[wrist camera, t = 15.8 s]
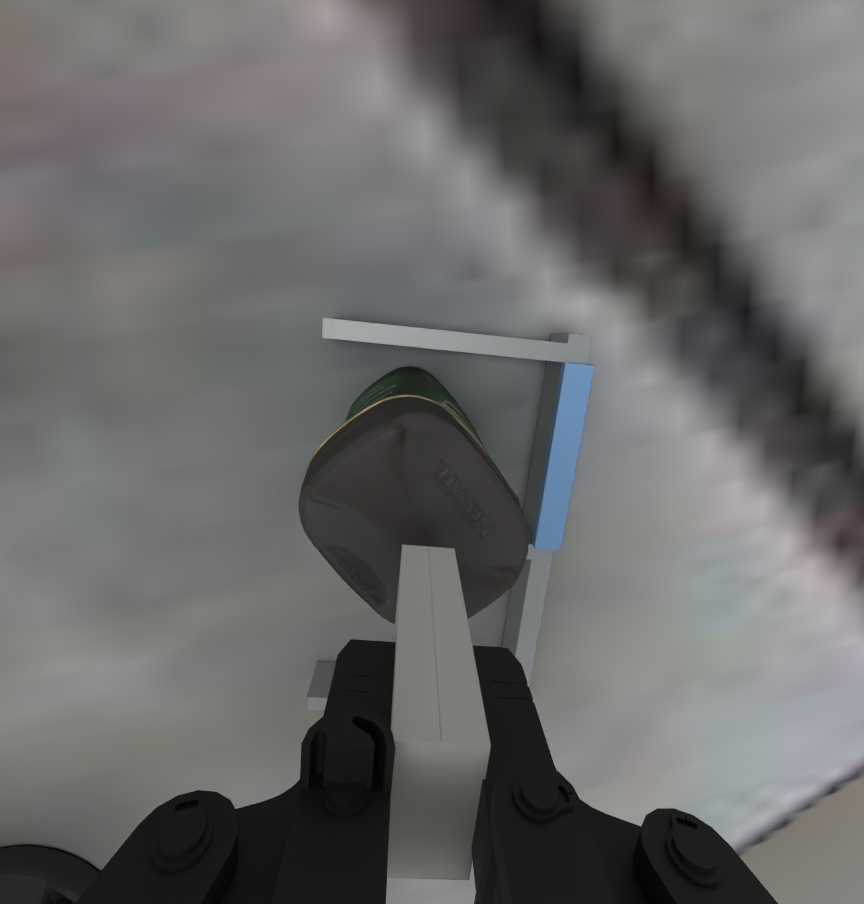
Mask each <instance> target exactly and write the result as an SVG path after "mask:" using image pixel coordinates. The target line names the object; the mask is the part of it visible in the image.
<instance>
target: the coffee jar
mask: <svg viewBox="0 0 864 904" xmlns="http://www.w3.org/2000/svg"><path fill="white" fill-rule="evenodd" d="M299 514H300V519H301V523H302V526H303V528H304V531H305V532H306V534H307V536H308V538H309V539H310V540H311V542H312V543H313V545H314V546H315V547H316V548H317V549H318V551H319V552H320V553H321V554H322V556H323V557H324V558H325V559H326V560H327V562H328V563H329V564H330V565H331V566H332V568H333V569H334V570H335V571H336V572H337V573H338V574H339V576H340V577H341V578H342V579H343V580H344V581H345V582H346V583H347V584H348V585H349V586H350V587H351V588H352V589H353V590H354V591H355V592H356V593H357V594H358V595H359V596H360V597H361V598H362V599H363V600H364V601H365V602H367V603H368V604H369V605H370V606H371V607H372V609H373V610H375V611H376V612H377V613H378V614H380V615H381V616H382V617H383V618H385V619H386V620H388V621H390V622H391V623H394V624H395V618H396V607H397V596H398V586H399V575H400V564H401V553H402V545H415V546H428V547H441V548H454V549H455V555H456V560H457V566H458V571H459V576H460V582H461V587H462V593H463V598H464V603H465V609H466V614H467V619H468V618H470V617H472V616H473V615H475V614H476V613H478V612H479V611H481V610H482V609H484V608H485V607H487V606H488V605H489V604H491V603H492V602H494V601H495V600H496V599H497V598H499V597H500V596H501V595H502V594H503V593H505V592H506V591H507V590H508V589H510V588H511V587H512V586H513V585H514V584H515V582H516V581H517V579H518V577H519V575H520V573H521V571H522V569H523V567H524V564H525V561H526V558H527V554H528V545H529V535H528V529H527V524H526V520H525V518H524V515H523V513H522V510H521V507H520V505H519V499H518V497H517V496H516V494H515V493H514V492H513V490H512V489H511V488H510V487H509V485H508V484H507V482H506V480H505V479H504V477H503V475H502V474H501V472H500V471H499V470H498V468H497V467H496V465H495V463H494V462H493V460H492V459H491V457H490V455H489V454H488V452H487V450H486V449H485V447H484V445H483V444H482V442H481V440H480V438H479V437H478V435H477V433H476V431H475V429H474V428H473V426H472V424H471V423H470V421H469V420H468V418H467V416H466V415H465V413H464V412H463V411H462V409H461V408H460V406H459V405H458V404H457V402H456V401H455V400H454V398H453V397H452V396H451V395H450V394H449V392H448V391H447V390H446V389H445V388H444V387H443V386H442V385H441V384H440V383H439V382H438V381H437V380H436V379H435V378H434V377H433V376H432V375H431V374H429V373H428V372H426V371H424V370H422V369H419V368H415V367H403V368H399V369H396V370H394V371H392V372H390V373H388V374H386V375H384V376H383V377H382V378H380V379H379V380H377V381H376V382H375V383H373V384H372V385H371V386H370V387H368V388H367V389H366V390H365V391H364V392H363V393H362V394H361V395H360V396H359V397H358V398H357V400H356V401H355V402H354V404H353V405H352V407H351V409H350V411H349V414H348V416H347V419H346V422H345V423H344V424H342V425H341V426H340V427H339V428H337V429H336V430H335V431H334V432H333V433H332V434H331V435H330V436H329V437H328V438H327V439H326V440H325V441H324V442H323V443H322V444H321V446H320V447H319V448H318V449H317V450H316V452H315V453H314V455H313V456H312V458H311V460H310V462H309V465H308V468H307V472H306V475H305V479H304V481H303V484H302V488H301V493H300V498H299Z"/></svg>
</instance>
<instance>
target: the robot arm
mask: <svg viewBox="0 0 864 904" xmlns="http://www.w3.org/2000/svg"><path fill="white" fill-rule="evenodd" d="M472 859H473V868H474V877H475V886H476V896H475V901H474V904H778V903H777V902H776V901H775V900H774V898H773V897H772V896H771V895H770V893H769V892H768V891H767V890H766V889H765V888H764V886H763V885H762V884H761V883H760V881H759V880H758V879H757V878H756V877H755V875H754V874H753V873H752V872H751V871H750V869H749V868H748V867H747V866H746V864H745V863H744V862H743V861H742V859H741V858H740V857H739V856H738V855H737V853H736V852H735V851H734V850H733V849H732V847H731V846H730V845H729V844H728V843H727V842H726V841H725V840H724V839H723V838H722V837H721V836H720V835H719V834H718V833H717V832H716V831H715V830H714V829H713V828H712V827H710V826H709V825H707V824H705V823H704V822H702V821H701V820H699V819H698V818H696V817H695V816H693V815H691V814H688V813H685V812H682V811H679V810H676V809H656V810H654V811H653V812H651V813H649V814H647V815H646V817H645V819H644V822H643V824H642V826H638V825H635V824H632V823H630V822H627V821H624V820H621V819H619V818H616V817H613V816H610V815H608V814H605V813H603V812H601V811H599V810H596V809H594V808H592V807H590V806H589V805H587V804H586V803H585V802H583V801H582V800H580V799H579V797H578V795H577V793H576V791H575V790H574V788H573V786H572V785H571V784H570V783H569V782H568V781H567V780H566V779H565V778H564V777H563V776H562V775H561V774H560V773H559V772H558V771H557V770H556V768H555V766H554V763H553V760H552V757H551V754H550V751H549V748H548V744H547V741H546V738H545V735H544V732H543V729H542V726H541V723H540V720H539V717H538V714H537V710H536V707H535V704H534V703H533V698H532V695H531V692H530V689H529V687H528V683H527V679H526V676H525V673H524V670H523V667H522V664H521V663H520V662H519V661H518V660H517V658H516V657H515V656H514V655H513V654H512V653H511V651H510V650H509V649H508V648H502V647H487V646H472V641H471V636H470V630H469V625H468V620H467V614H466V609H465V603H464V598H463V593H462V587H461V582H460V576H459V571H458V566H457V560H456V555H455V549H454V548H441V547H428V546H415V545H402V553H401V564H400V575H399V586H398V596H397V607H396V618H395V629H394V642H383V641H367V640H352V639H351V640H350V641H349V642H348V644H347V645H346V646H345V647H344V648H343V649H342V650H341V652H340V653H339V654H338V656H337V661H336V665H335V669H334V673H333V677H332V682H331V686H330V691H329V694H328V698H327V703H326V707H325V711H324V715H323V717H322V718H321V719H320V720H318V721H317V722H316V723H315V724H314V725H313V726H312V727H311V728H309V730H308V732H307V734H306V736H305V738H304V740H303V742H302V747H301V773H300V780H299V781H298V782H297V783H296V784H295V785H294V786H293V787H292V788H290V789H289V790H287V791H285V792H284V793H282V794H281V795H279V796H277V797H274V798H271V799H269V800H266V801H263V802H260V803H256V804H253V805H249V806H245V807H242V808H238V809H235V808H234V806H233V804H232V802H231V801H230V800H229V799H228V798H226V797H224V796H223V795H221V794H219V793H217V792H212V791H200V790H197V791H194V792H190V793H186V794H182V795H178V796H176V797H174V798H172V799H171V800H169V801H167V802H165V803H164V804H162V805H160V806H158V807H157V808H156V809H155V810H154V811H153V812H152V813H150V814H149V815H148V816H147V817H146V818H145V819H144V820H143V821H142V822H141V823H140V824H139V825H138V826H137V827H136V829H135V830H134V831H133V832H132V834H131V835H130V836H129V837H128V839H127V840H126V841H125V842H124V844H123V845H122V846H121V847H120V848H119V850H118V851H117V852H116V853H115V855H114V856H113V857H112V858H111V860H110V861H109V862H108V863H107V864H106V866H105V867H104V868H103V869H102V871H101V872H100V873H98V872H97V871H96V870H95V869H94V868H92V867H91V866H89V865H88V864H86V863H85V862H83V861H81V860H79V859H78V858H75V857H73V856H71V855H68V854H66V853H63V852H60V851H56V850H52V849H48V848H42V847H32V846H16V847H8V848H2V849H0V904H386V885H387V877H388V878H419V879H449V880H469V877H470V871H471V865H472Z"/></svg>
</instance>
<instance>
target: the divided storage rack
mask: <svg viewBox="0 0 864 904" xmlns="http://www.w3.org/2000/svg"><path fill="white" fill-rule="evenodd" d="M322 338H330V339H340V340H350V341H360V342H369V343H379V344H389V345H399V346H409V347H418V348H428V349H438V350H448V351H457V352H467V353H477V354H487V355H496V356H506V357H516V358H526V359H535V360H545V361H547V363H546V370H545V376H544V382H543V389H542V395H541V401H540V408H539V414H538V420H537V426H536V433H535V439H534V445H533V452H532V458H531V464H530V471H529V477H528V483H527V490H526V496H525V502H524V508H523V515H524V518H525V520H526V524H527V529H528V535H529V545H528V554H527V558H526V561H525V564H524V567H523V569H522V571H521V573H520V575H519V577H518V579H517V581H516V582H515V584H514V585H513V586H512V587H511V590H510V597H509V603H508V609H507V616H506V622H505V628H504V635H503V641H502V648H508V649H509V650H510V651H511V653H512V654H513V655H514V656H515V657H516V658H517V660H518V661H519V662H520V663H521V664H522V667H523V670H524V673H525V676H526V679H527V683H528V687H529V686H530V680H531V674H532V669H533V663H534V658H535V652H536V647H537V641H538V635H539V630H540V624H541V619H542V613H543V608H544V602H545V597H546V591H547V585H548V580H549V574H550V569H551V563H552V558H553V552H554V550H560V546H562V541H563V535H564V530H565V524H566V519H567V513H568V508H569V503H570V497H571V492H572V486H573V481H574V475H575V470H576V464H577V459H578V454H579V448H580V443H581V437H582V432H583V426H584V421H585V415H586V410H587V405H588V399H589V394H590V388H591V383H592V377H593V372H594V365H589V364H587V363H588V357H589V352H590V346H591V341H592V336H585V335H575V334H551V338H550V342H549V341H539V340H530V339H520V338H511V337H501V336H492V335H482V334H473V333H463V332H454V331H444V330H435V329H425V328H416V327H406V326H397V325H387V324H378V323H368V322H359V321H349V320H340V319H330V318H323V331H322ZM335 665H336V662H324V661H317V665H316V668H315V671H314V675H313V678H312V682H311V685H310V689H309V692H308V695H307V710H316V711H325V707H326V703H327V698H328V694H329V691H330V686H331V682H332V677H333V673H334V669H335Z"/></svg>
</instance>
